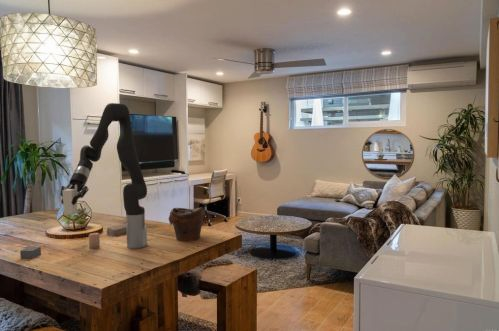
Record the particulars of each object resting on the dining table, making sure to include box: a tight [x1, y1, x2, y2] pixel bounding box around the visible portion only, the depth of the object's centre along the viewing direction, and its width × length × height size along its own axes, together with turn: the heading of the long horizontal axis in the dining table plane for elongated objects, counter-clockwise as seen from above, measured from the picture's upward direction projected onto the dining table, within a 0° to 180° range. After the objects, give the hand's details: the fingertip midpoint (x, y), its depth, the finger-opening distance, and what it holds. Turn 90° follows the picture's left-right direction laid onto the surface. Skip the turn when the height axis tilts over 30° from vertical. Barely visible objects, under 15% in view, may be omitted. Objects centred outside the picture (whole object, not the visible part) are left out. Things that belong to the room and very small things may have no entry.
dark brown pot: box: [168, 206, 205, 242], centre depth 198 cm, size 18×20×18 cm
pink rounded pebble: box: [88, 232, 101, 250], centre depth 183 cm, size 5×5×7 cm
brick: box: [106, 222, 127, 237], centre depth 212 cm, size 17×8×5 cm, turn 141°
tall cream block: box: [62, 189, 78, 216], centre depth 177 cm, size 4×4×12 cm
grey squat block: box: [19, 246, 42, 260], centre depth 169 cm, size 6×6×4 cm
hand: (68, 203), depth 175 cm, fingers closed on tall cream block, 4 cm apart
